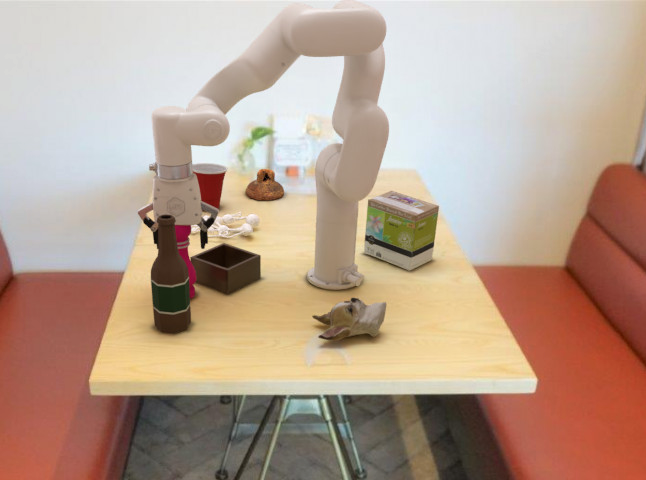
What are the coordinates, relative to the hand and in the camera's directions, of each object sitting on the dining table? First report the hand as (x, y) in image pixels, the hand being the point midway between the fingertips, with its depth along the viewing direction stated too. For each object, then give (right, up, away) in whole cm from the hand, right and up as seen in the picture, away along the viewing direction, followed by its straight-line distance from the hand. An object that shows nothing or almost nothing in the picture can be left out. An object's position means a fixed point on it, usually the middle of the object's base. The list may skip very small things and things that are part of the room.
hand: (181, 246), depth 177 cm
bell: (+16, +28, +66) cm, 73 cm away
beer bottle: (-1, -18, -6) cm, 19 cm away
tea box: (+51, +2, +27) cm, 58 cm away
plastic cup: (0, +22, +55) cm, 59 cm away
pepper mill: (-1, -10, +6) cm, 12 cm away
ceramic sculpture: (+36, -20, -8) cm, 42 cm away
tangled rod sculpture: (+6, +11, +39) cm, 41 cm away
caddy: (+9, -5, +14) cm, 17 cm away
